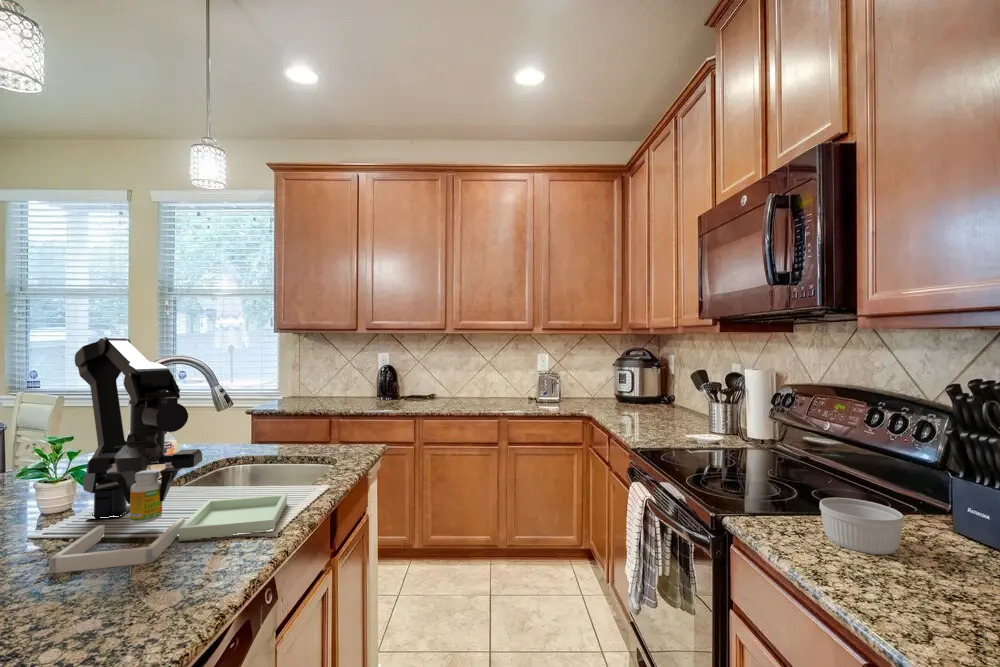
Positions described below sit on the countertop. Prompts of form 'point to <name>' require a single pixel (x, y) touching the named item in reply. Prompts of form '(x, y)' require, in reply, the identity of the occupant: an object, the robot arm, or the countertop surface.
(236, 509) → the tray
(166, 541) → the bay
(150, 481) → the supplement bottle
